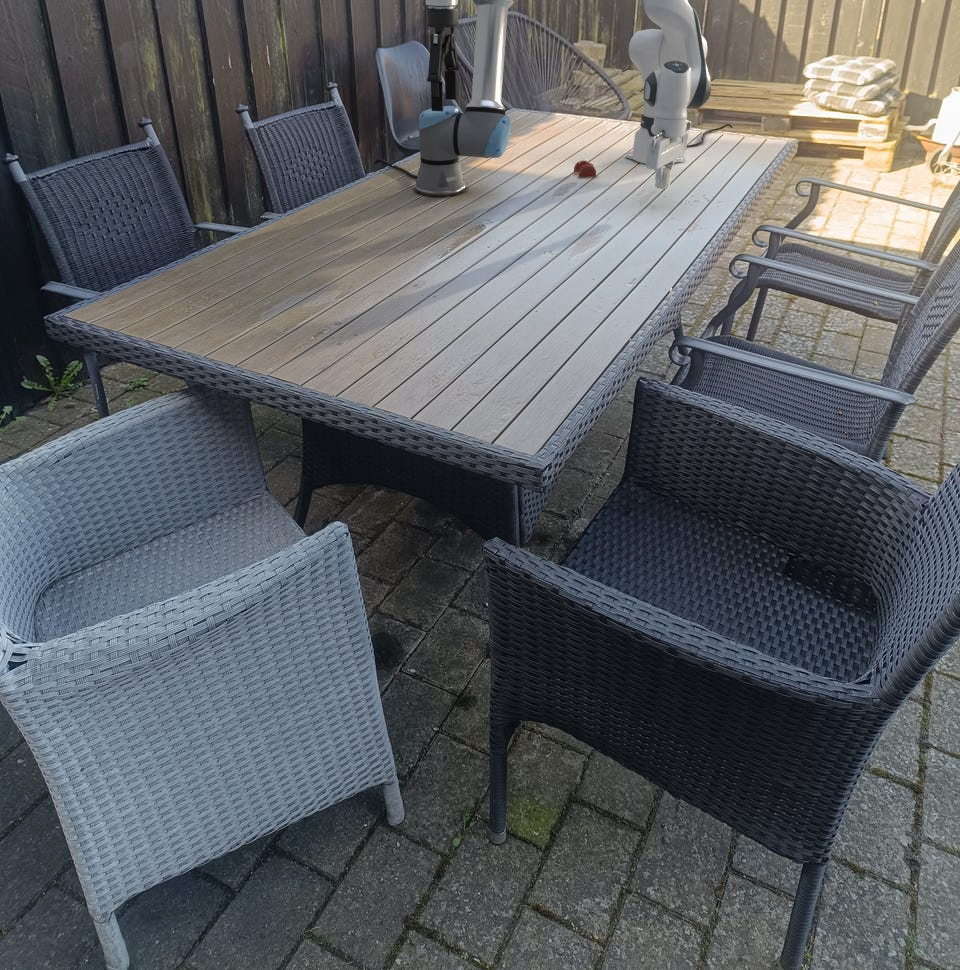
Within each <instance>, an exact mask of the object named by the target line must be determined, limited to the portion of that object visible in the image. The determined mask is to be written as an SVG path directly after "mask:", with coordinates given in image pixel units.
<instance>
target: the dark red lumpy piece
mask: <svg viewBox="0 0 960 970" xmlns="http://www.w3.org/2000/svg"><path fill="white" fill-rule="evenodd" d="M573 173H574V174H575V173H578V177H579V178H589V177H590V178H591V177H596V176H597V170H596V167H595V165H594V164H593V163H591V162H588V160H579V161H578V162H576V163H575V164H574V167H573Z"/></svg>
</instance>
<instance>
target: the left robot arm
mask: <svg viewBox="0 0 960 970" xmlns="http://www.w3.org/2000/svg"><path fill="white" fill-rule="evenodd" d="M472 2H473V3H474V5H475V6H476V22H475V23H476V24H475V38H474V54H473V70H472V71H473V72H472V73H473V74H472V87H471V100H470V102H468V103H467V104H466V106H465V113H463V112H460V110H459V108H458V106H455V105H445V106H444V99H445V100H450V101H457V71H460V65H459V60H458V52H457V46H456V45H457V44H456V37H455V27H458V26H459V9H458V7H456V6H458V5H459V0H425V5H426V6H427V8H426V9H425V17H426V19H425V20H426V21H425V22H426V26H427V27H429V28H434V33H430V36H429V37H430V46H429V59H428V72H427V77H426V82H428V83H430V99H431V103H430V104H431V108H429V109H426V110H423V111H422V112H421V113H420V114H419V117H418V118H419V119H418V120H419V121H418V136H419V138H418V139H419V157H420V158H419V159H420V161H419V162H420V164H419V168H418V172H417V175H416V174H413V173H411V172H410V171H408V170H406V169H404V168H403V167H400V166H397V165H396V164H392V163H390V162H389V161H386V160H385V159H383V158H377V159H376V160H375V161H374V163H373V164H375V165H377V164H378V163H382V164H384V165H385V166H388V167H390V168H392V169H395V170H397V171H399V172H401V173H403V174H405V175H407V176H408V177H410V178H413V179H416V180H415V185H414V186H415V192H417V193H418V194H420V195H424V196H430V197H450V196H455V195H459V194H461V193H463V192H464V191H466V181H465V179H464V176H463V172H462V169H461V165H460V157H469V158H470V157H472V158H482V159H483V158H484V159H489V158H490V159H499V158H501V157H502V156H503V155H504V154H505V152H506V149H507V147H508V144H509V140H510V135H511V129H512V128H511V127H512V126H511V123H512V121H511V117H510V116H509V115H507V114H506V112H507V110H506V108H505V107H504V105H503V104H502V93H503V82H504V81H503V80H504V69H505V67H504V66H505V52H506V41H507V26H508V12H509V8H511V7H512V6H513V5H514V2H515V0H472ZM444 67H445V70H444ZM443 71H444V81H442V77H443ZM443 82H444V83H443ZM443 84H444V85H443ZM444 97H445V98H444ZM392 165H394V166H392Z"/></svg>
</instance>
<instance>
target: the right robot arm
mask: <svg viewBox="0 0 960 970" xmlns="http://www.w3.org/2000/svg"><path fill="white" fill-rule="evenodd" d="M643 9H644V12H645V15H646V16H647V17H648V18H649V20H650V21H651V22H653V23H654V24H656V25H657V26H658V27H659V28H660V29H656V28H648V29H642V30H638V31H636V32H635V33H634V34H633V35H632V37H631V38H630V41H629V44H628V56H629V60H630V61H631V62H632V63H633V65H634V66H635V67H636V68H637V70H638V73H640V76H641V79H642V84H643V110H642V114H641V116H640V123H639V125H640V127H639V129H638V130H636V132H634V139H633V144H632V145H633V146H632V151H630V152H629V153H627V154H626V158H627V159H630V160H633V161H635V162H636V163H641V164H645V169H648V170H653V171H654V173H655V179H654V180H655V182H656V181H662V180H663V176H664V174H663V170H662V169H663V168H669V169H671V170H672V171H673V167H674V165H675V163H683V162H684V157H683V155H685V153H686V150H687V148H693V147H696V146H700V145H702V144H703V143H704V141H705V137H706V135H707V134H708V133H712V132H716V131H720V130H723V129H725V128H726V127H729V128H730V129H733V128H734V127H733V125H732V124H731V123H726V124H724V125H721V126H719V127H716V128H712V129H707V130H705V131H704V132H703V133H702V136H701V141H699V142H697V143H693V144H688V141H689V136H690V135H689V134H690V130H691V129H692V121H690V120H688V112H687V110H688V109H692V110H698V109H700V108H702V106H703V105H705V104H706V103H707V102H708V100H709V99H710V98H711V93H712V81H711V76H710V73H709V69H708V66H707V61H706V60H707V56H708V43H707V40H706V39H705V37H704V36H703V35H702V30H701V25H700V20H699V15H698V12H697V10H696V9H695V8H694V7H692V6H691V5H690V3H689V1H688V0H643ZM664 166H665V167H664Z"/></svg>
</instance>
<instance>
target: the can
mask: <svg viewBox="0 0 960 970" xmlns="http://www.w3.org/2000/svg"><path fill="white" fill-rule="evenodd" d="M662 170H663V174H664V176H663V180H662V181H656V180H655V181H654V183H655V184H654V187H655V189H659V190H666V189H669V188H670V187H671V186H670V185H671V179H672V171H673V169H672V170H671V169H669V168H665V167H664V168H663V169H662Z"/></svg>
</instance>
